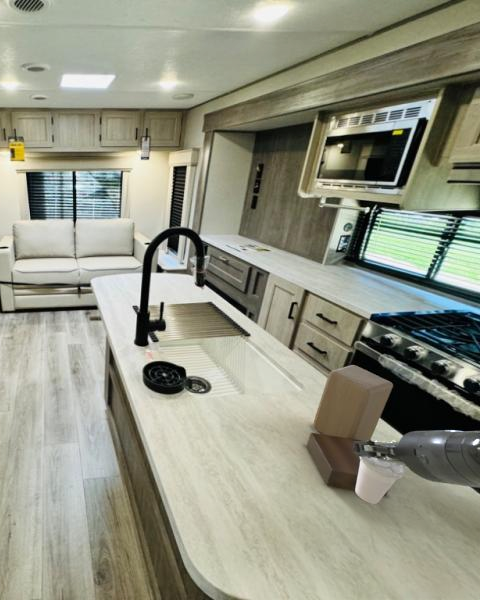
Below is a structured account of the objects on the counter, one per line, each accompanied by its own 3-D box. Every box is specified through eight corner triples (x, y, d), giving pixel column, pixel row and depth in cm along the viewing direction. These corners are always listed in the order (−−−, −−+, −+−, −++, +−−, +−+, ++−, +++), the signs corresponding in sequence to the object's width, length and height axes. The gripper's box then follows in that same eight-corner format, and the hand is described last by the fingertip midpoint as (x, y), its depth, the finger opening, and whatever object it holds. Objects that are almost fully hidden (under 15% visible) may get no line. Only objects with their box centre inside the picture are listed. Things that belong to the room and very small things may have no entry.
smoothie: (340, 487, 66) (360, 437, 61) (358, 476, 68) (378, 427, 63) (376, 515, 61) (401, 462, 56) (394, 502, 63) (420, 450, 58)
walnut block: (357, 454, 83) (363, 440, 81) (385, 496, 72) (393, 480, 71) (306, 446, 86) (310, 432, 84) (326, 485, 75) (332, 470, 73)
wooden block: (334, 418, 96) (353, 362, 88) (371, 442, 87) (396, 383, 79) (310, 426, 93) (328, 370, 85) (346, 452, 84) (369, 391, 77)
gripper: (500, 438, 47) (415, 439, 62) (386, 423, 51) (332, 427, 66) (519, 495, 44) (425, 481, 59) (397, 475, 48) (338, 466, 63)
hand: (377, 453), depth 62 cm, fingers closed on smoothie, 6 cm apart
